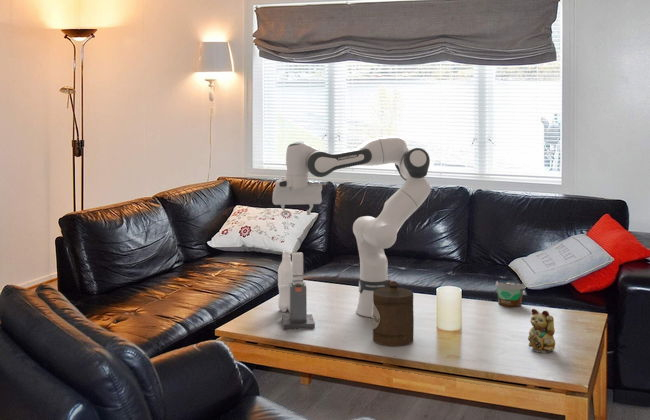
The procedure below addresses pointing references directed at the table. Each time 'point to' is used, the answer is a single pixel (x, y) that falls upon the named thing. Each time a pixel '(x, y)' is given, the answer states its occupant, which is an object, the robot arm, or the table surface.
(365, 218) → the robot arm
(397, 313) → the wooden container
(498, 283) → the food container
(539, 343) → the decorative figurine
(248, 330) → the table surface
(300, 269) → the column
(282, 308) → the water bottle
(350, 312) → the table surface
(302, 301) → the stand
